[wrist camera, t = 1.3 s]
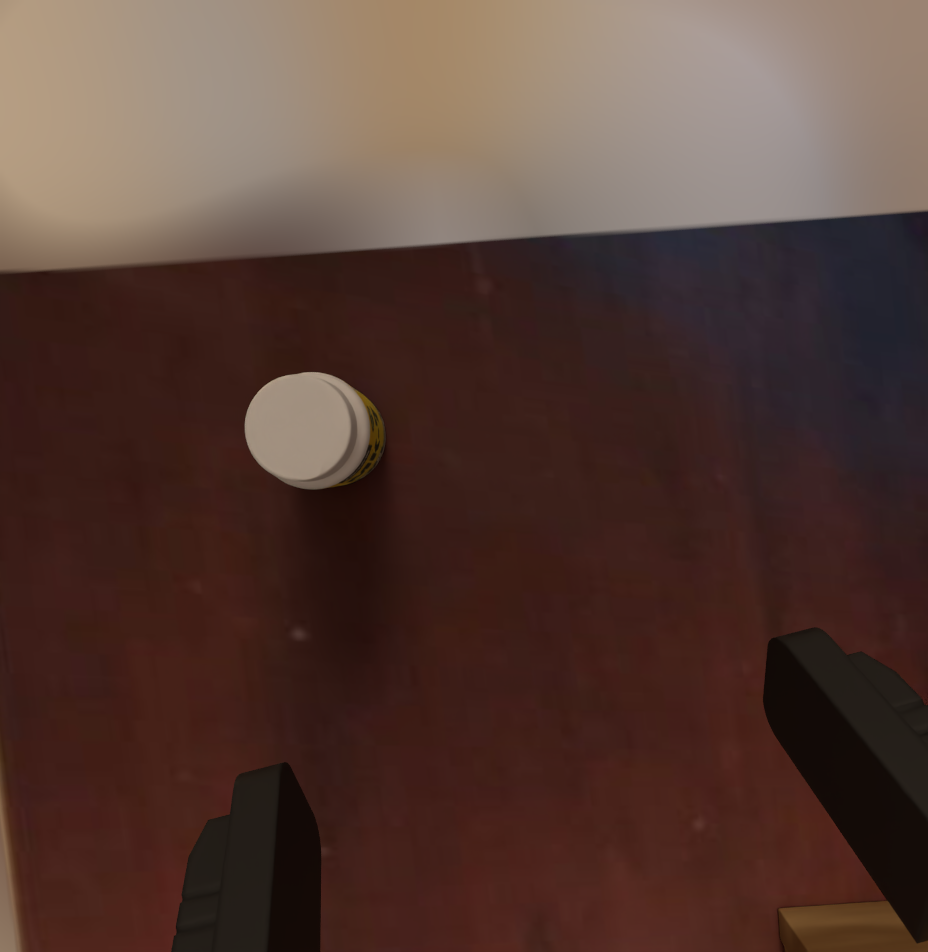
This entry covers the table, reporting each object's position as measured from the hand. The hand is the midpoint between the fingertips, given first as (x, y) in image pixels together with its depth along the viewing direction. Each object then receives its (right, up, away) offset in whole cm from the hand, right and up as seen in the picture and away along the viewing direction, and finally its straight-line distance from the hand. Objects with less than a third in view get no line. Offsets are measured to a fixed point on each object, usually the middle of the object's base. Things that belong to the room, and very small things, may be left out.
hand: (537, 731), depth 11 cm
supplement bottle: (-7, +6, +22) cm, 24 cm away
